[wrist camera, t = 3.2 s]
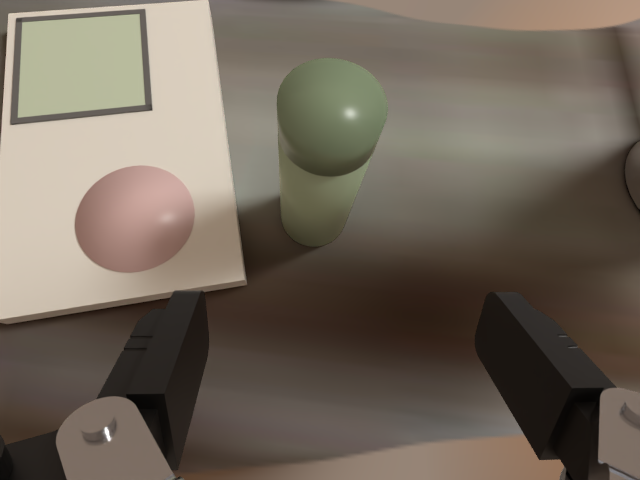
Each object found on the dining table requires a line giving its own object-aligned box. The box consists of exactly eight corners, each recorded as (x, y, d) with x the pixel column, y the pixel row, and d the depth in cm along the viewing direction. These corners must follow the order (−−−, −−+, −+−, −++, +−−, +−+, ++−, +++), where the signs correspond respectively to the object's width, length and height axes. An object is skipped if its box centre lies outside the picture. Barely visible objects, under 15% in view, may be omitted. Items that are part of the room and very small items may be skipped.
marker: (338, 182, 28) (373, 53, 17) (351, 241, 27) (399, 144, 15) (276, 190, 27) (269, 63, 16) (286, 251, 26) (286, 159, 15)
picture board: (211, 16, 32) (207, -2, 30) (247, 285, 25) (244, 279, 24) (21, 30, 30) (7, 12, 28) (7, 324, 23) (-13, 320, 22)
